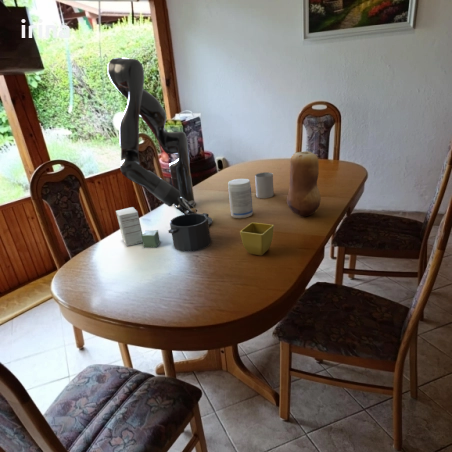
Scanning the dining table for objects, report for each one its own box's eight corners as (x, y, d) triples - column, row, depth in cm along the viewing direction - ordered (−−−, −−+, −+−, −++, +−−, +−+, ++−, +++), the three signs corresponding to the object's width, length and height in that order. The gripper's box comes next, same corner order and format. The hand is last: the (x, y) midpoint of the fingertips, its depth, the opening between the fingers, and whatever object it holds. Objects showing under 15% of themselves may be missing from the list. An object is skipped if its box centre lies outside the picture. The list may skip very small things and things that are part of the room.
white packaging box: (122, 240, 162) (115, 210, 156) (140, 236, 164) (133, 206, 158) (126, 246, 156) (118, 215, 150) (144, 242, 158) (137, 211, 152)
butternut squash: (326, 212, 167) (328, 149, 154) (308, 222, 159) (309, 157, 146) (298, 207, 175) (298, 147, 162) (280, 216, 167) (278, 155, 154)
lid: (170, 227, 169) (167, 212, 166) (194, 216, 179) (191, 201, 175) (196, 233, 161) (194, 217, 157) (219, 221, 170) (218, 205, 167)
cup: (254, 197, 193) (252, 177, 188) (259, 192, 199) (258, 172, 194) (270, 198, 190) (270, 177, 184) (275, 193, 196) (275, 172, 191)
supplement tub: (257, 214, 172) (255, 180, 165) (239, 220, 168) (236, 186, 161) (244, 209, 179) (241, 176, 172) (226, 215, 175) (223, 181, 168)
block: (144, 247, 154) (141, 235, 151) (148, 242, 158) (145, 230, 155) (156, 247, 153) (153, 235, 150) (160, 242, 157) (157, 230, 154)
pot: (161, 250, 150) (156, 226, 145) (195, 231, 162) (192, 209, 157) (188, 257, 142) (184, 232, 137) (222, 237, 154) (219, 214, 149)
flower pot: (263, 259, 135) (262, 234, 130) (241, 255, 139) (239, 231, 134) (275, 249, 141) (274, 224, 136) (253, 245, 145) (251, 222, 141)
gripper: (171, 189, 154) (204, 213, 161) (170, 180, 166) (200, 203, 173) (160, 205, 156) (193, 228, 163) (159, 195, 168) (190, 217, 175)
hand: (197, 215), depth 168 cm, fingers open, 8 cm apart
